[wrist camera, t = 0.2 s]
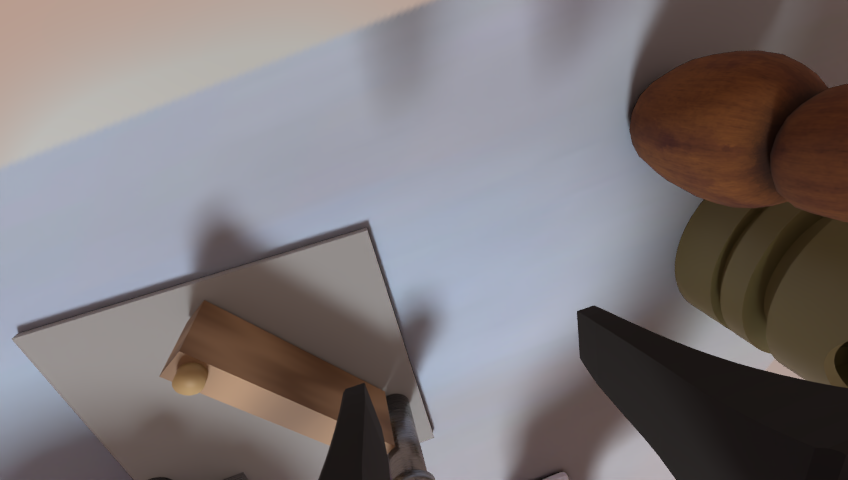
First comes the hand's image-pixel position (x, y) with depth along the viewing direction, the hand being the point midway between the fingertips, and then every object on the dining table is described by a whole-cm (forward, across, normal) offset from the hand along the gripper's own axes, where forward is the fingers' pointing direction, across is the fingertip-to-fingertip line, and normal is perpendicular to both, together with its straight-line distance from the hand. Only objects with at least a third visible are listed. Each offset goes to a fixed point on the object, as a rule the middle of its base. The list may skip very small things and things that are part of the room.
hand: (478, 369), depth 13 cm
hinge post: (+10, +4, +10) cm, 15 cm away
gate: (+10, +8, +5) cm, 13 cm away
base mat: (+10, +11, +6) cm, 16 cm away
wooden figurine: (+10, -15, -3) cm, 18 cm away
